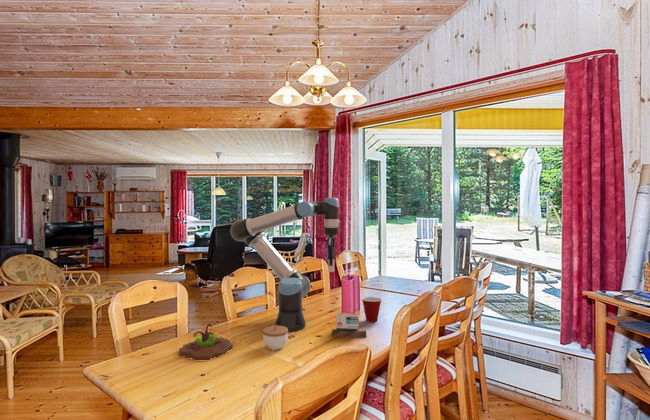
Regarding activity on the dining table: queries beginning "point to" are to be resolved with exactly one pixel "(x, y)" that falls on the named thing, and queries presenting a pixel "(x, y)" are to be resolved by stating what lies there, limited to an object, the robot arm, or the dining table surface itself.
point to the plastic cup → (371, 308)
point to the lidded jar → (275, 337)
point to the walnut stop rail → (349, 333)
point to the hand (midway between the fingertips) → (331, 271)
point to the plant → (206, 346)
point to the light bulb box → (347, 321)
